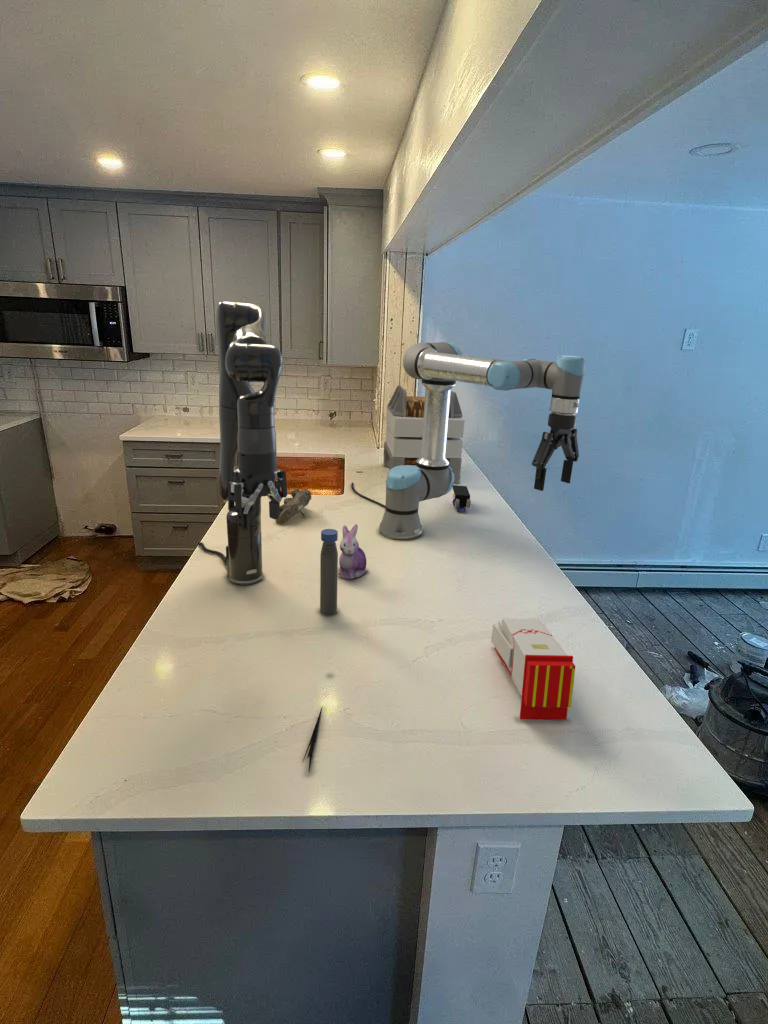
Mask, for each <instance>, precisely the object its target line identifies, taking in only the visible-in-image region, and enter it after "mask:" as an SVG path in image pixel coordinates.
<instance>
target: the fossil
mask: <svg viewBox="0 0 768 1024" xmlns="http://www.w3.org/2000/svg"><path fill="white" fill-rule="evenodd" d="M290 495H291V497H285V498H283V504H281V505H280V515H279V519H276V520H275V523H276V524H279V525H282V524H286V523H289V522H290V521H292V519H293V518H295V517H297V515H299V514H301V515H302V516H303V517H305V516H306V515H305V514H304V512H303V510H304V509H305V507H307V506H308V505H309V503H310V501H311V500H312V492H311V491H310V490H309V489H307V488H301V490H300V489H299V488H293V489H292V491H291V492H290Z"/></svg>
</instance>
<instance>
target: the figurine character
mask: <svg viewBox="0 0 768 1024" xmlns="http://www.w3.org/2000/svg"><path fill="white" fill-rule="evenodd" d="M452 490H453V494H452V501H451V503H452V504H453V507H454V508H456V511H457V512H460V510H463V511H464V513H466V512H467V509H470V508H471V505H472V504H471V501H472V500H471V494H470V491H469V488H468V486H467V485H456V484H453V487H452ZM466 508H467V509H466Z"/></svg>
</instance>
